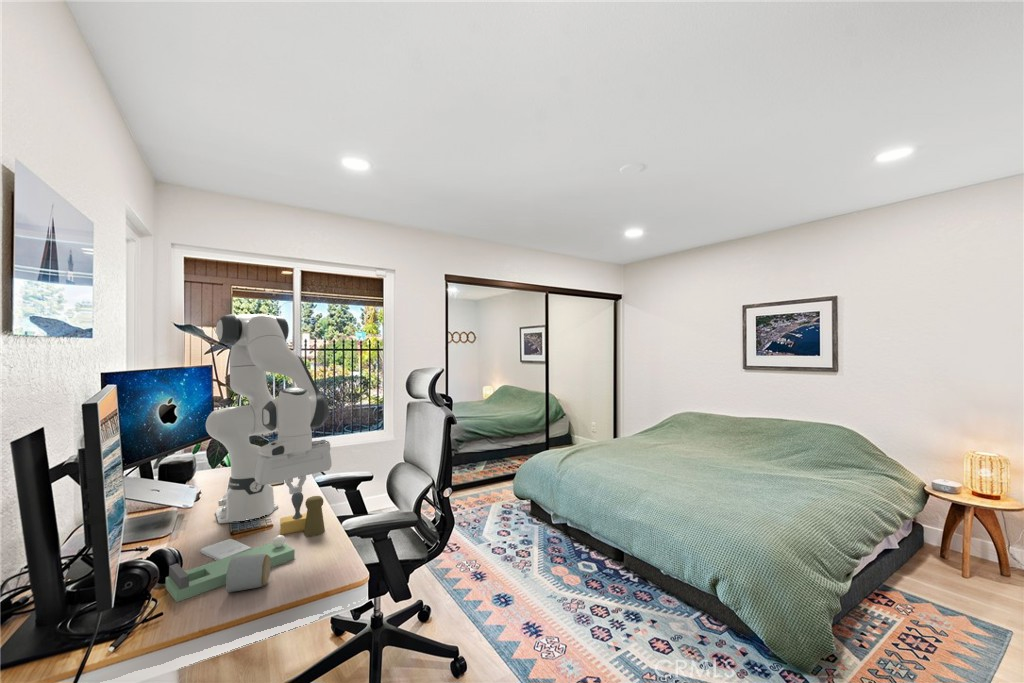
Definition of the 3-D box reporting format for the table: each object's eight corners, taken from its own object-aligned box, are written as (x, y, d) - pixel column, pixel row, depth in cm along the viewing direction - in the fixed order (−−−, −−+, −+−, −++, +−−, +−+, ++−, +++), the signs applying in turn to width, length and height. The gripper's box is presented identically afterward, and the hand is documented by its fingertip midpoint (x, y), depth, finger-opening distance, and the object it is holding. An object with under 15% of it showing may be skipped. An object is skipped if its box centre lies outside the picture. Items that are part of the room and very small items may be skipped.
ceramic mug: (265, 591, 100) (265, 558, 100) (224, 599, 97) (225, 564, 98) (274, 571, 110) (274, 541, 110) (238, 577, 107) (238, 546, 108)
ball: (270, 547, 118) (270, 536, 118) (282, 543, 120) (282, 532, 121) (275, 550, 116) (275, 539, 116) (287, 546, 118) (287, 535, 118)
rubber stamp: (280, 535, 133) (280, 496, 133) (280, 529, 138) (280, 491, 138) (315, 528, 138) (315, 491, 138) (314, 522, 143) (313, 486, 143)
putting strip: (165, 587, 103) (165, 566, 103) (279, 548, 123) (279, 531, 123) (176, 602, 96) (176, 579, 97) (294, 558, 116) (294, 540, 117)
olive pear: (316, 536, 131) (316, 500, 131) (299, 535, 132) (299, 499, 132) (329, 528, 137) (328, 494, 137) (312, 527, 138) (312, 493, 138)
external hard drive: (231, 543, 129) (252, 552, 122) (200, 554, 122) (221, 564, 115) (231, 538, 129) (252, 546, 122) (200, 548, 122) (220, 558, 115)
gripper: (325, 437, 133) (325, 482, 132) (252, 449, 117) (252, 500, 116) (335, 439, 129) (335, 485, 128) (261, 452, 113) (261, 504, 112)
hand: (295, 492), depth 122 cm, fingers closed
